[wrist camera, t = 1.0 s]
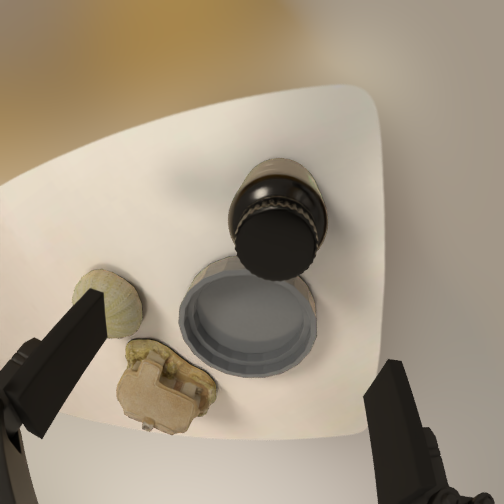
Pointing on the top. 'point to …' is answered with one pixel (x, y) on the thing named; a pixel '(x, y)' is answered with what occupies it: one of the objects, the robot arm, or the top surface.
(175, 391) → the ceramic model
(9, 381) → the robot arm
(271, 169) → the supplement bottle
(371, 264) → the top surface
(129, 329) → the sea urchin shell
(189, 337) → the dish
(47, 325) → the top surface
